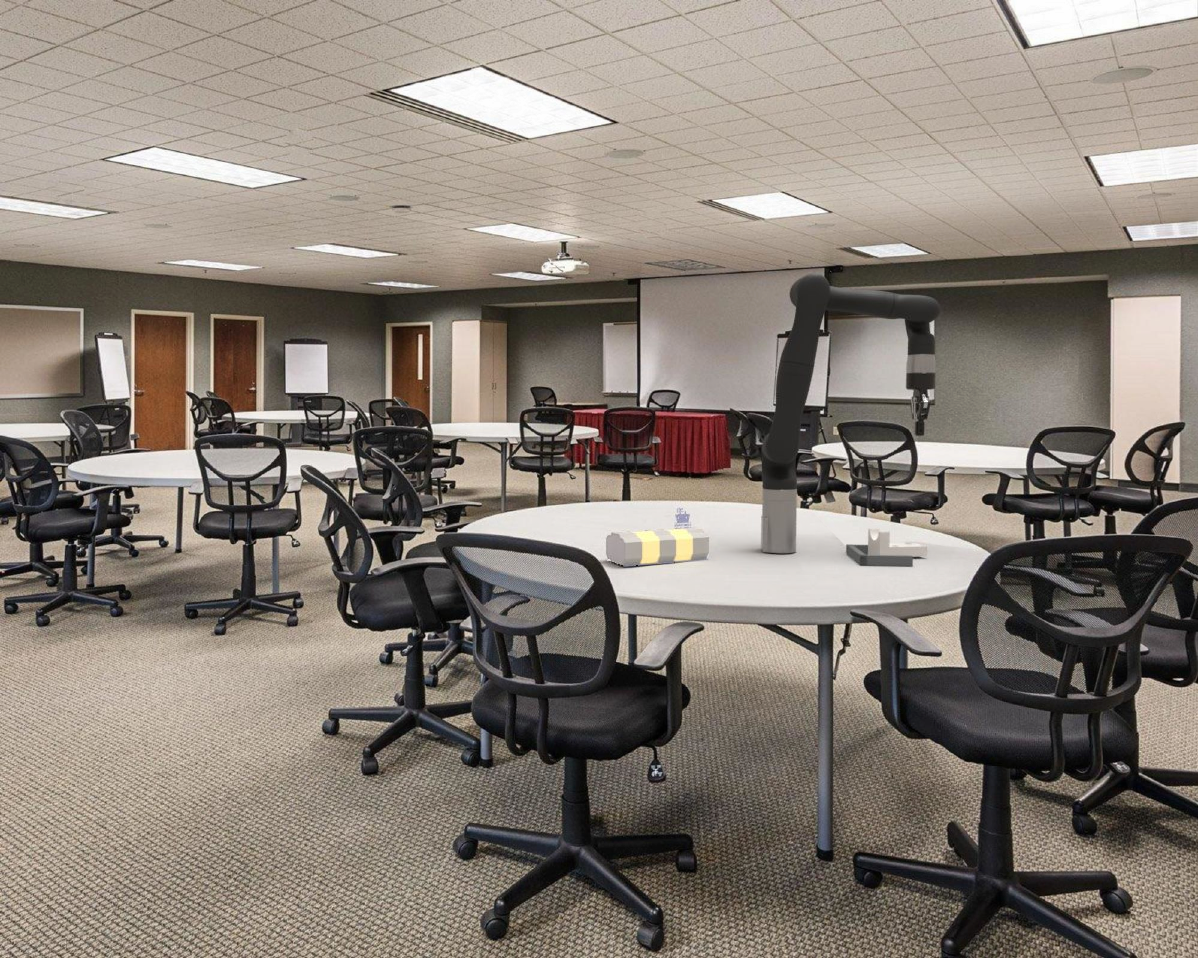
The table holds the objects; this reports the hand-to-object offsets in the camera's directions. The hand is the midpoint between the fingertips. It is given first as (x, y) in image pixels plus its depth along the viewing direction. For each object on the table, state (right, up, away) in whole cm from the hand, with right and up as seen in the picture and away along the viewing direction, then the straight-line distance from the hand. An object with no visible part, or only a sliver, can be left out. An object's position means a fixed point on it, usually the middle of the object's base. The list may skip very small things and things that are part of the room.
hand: (919, 435), depth 248 cm
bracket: (-9, -33, -8) cm, 35 cm away
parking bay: (-14, -33, -13) cm, 38 cm away
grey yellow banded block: (-72, -33, -12) cm, 80 cm away
